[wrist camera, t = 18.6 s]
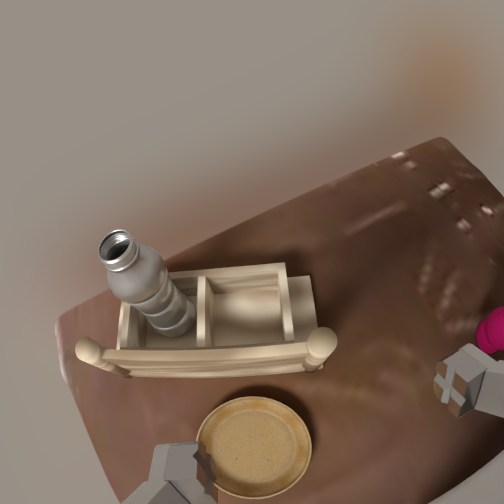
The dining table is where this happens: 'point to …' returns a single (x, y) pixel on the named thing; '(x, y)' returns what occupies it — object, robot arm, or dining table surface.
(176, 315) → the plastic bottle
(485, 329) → the magenta pepper grinder
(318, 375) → the dining table surface
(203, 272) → the wooden compartment rack
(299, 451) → the plant saucer
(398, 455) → the dining table surface
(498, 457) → the robot arm
